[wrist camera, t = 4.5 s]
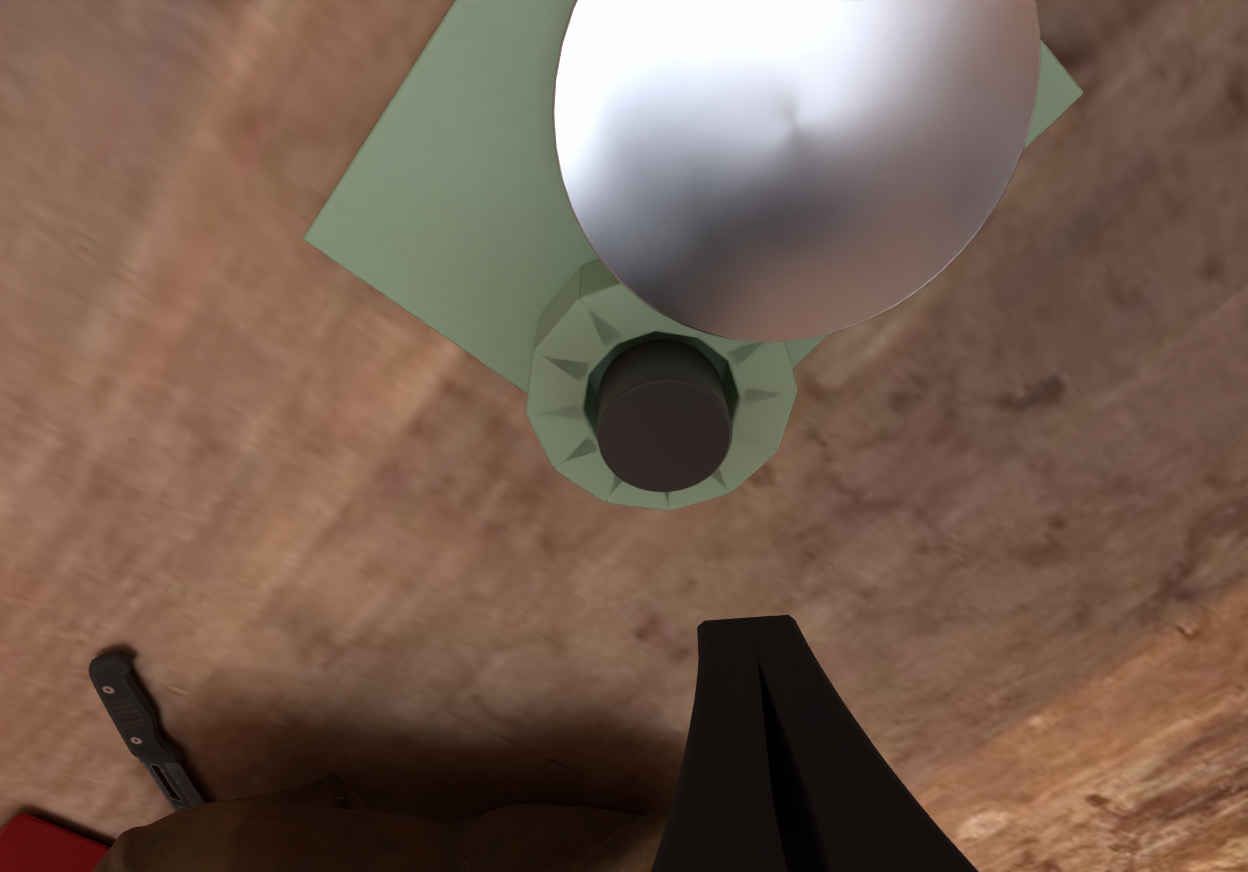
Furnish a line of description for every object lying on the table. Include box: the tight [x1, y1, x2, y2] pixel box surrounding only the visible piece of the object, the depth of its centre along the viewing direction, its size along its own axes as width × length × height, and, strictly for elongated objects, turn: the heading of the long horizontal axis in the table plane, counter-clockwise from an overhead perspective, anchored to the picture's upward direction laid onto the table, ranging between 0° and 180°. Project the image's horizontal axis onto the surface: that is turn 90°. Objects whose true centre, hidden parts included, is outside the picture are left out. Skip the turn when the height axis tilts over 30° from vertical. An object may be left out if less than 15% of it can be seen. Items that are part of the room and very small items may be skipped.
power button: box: [598, 340, 732, 492], centre depth 16 cm, size 3×3×2 cm
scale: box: [304, 0, 1083, 510], centre depth 15 cm, size 12×10×3 cm
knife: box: [89, 652, 205, 812], centre depth 28 cm, size 16×1×3 cm
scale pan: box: [552, 0, 1041, 342], centre depth 13 cm, size 8×8×1 cm
